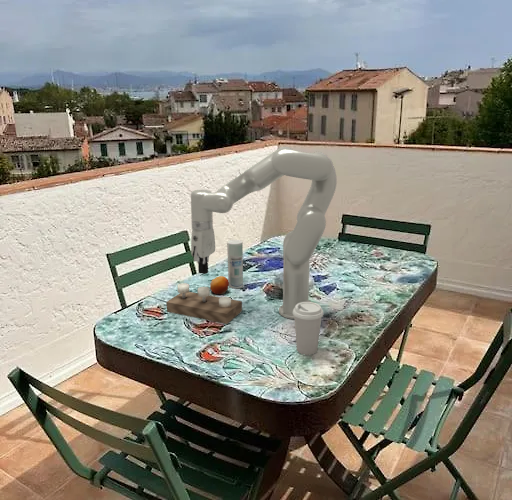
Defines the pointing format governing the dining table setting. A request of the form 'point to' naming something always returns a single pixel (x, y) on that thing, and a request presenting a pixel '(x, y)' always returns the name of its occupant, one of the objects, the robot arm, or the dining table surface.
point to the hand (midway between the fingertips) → (203, 272)
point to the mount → (203, 307)
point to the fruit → (219, 285)
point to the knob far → (183, 289)
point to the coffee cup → (307, 326)
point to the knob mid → (203, 293)
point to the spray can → (235, 263)
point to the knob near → (224, 302)
